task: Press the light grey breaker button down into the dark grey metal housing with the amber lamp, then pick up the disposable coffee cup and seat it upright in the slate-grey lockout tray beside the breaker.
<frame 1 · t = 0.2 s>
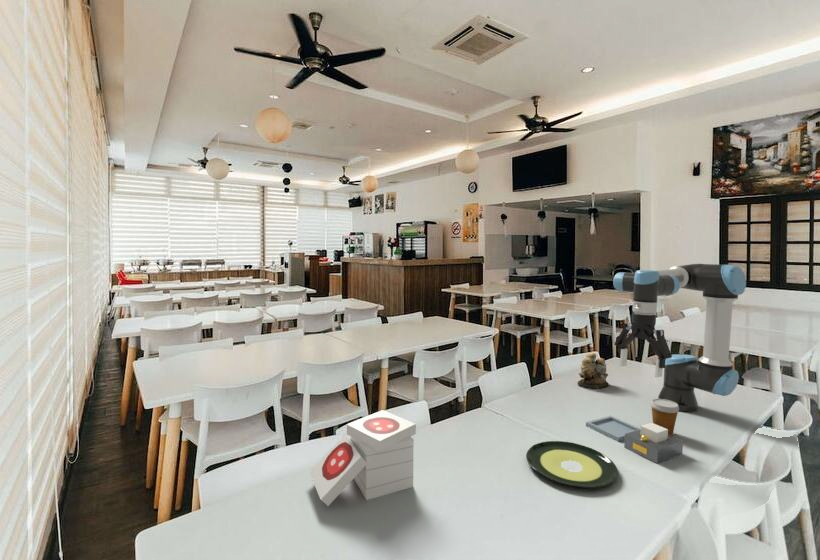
hand: (640, 371, 147), 27 cm above the table, tool pointing down, fingers open, 13 cm apart
lockout tray: (613, 429, 159), on the table
pizza boxes: (364, 485, 122), on the table
breaker button: (653, 435, 143), point 6 cm above the table, slide at 0.0 cm
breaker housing: (652, 450, 143), on the table
plate: (570, 469, 132), on the table
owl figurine: (592, 385, 210), on the table
disposable coffee cup: (662, 433, 157), on the table
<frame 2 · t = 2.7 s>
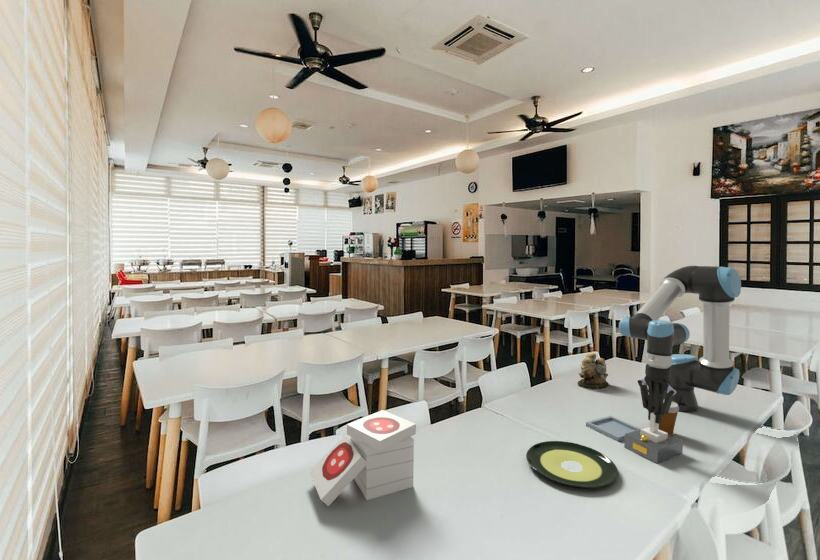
hand: (653, 430, 143), 7 cm above the table, tool pointing down, fingers closed
breaker button: (653, 438, 143), point 4 cm above the table, slide at 1.3 cm, touching gripper
everything else where it was.
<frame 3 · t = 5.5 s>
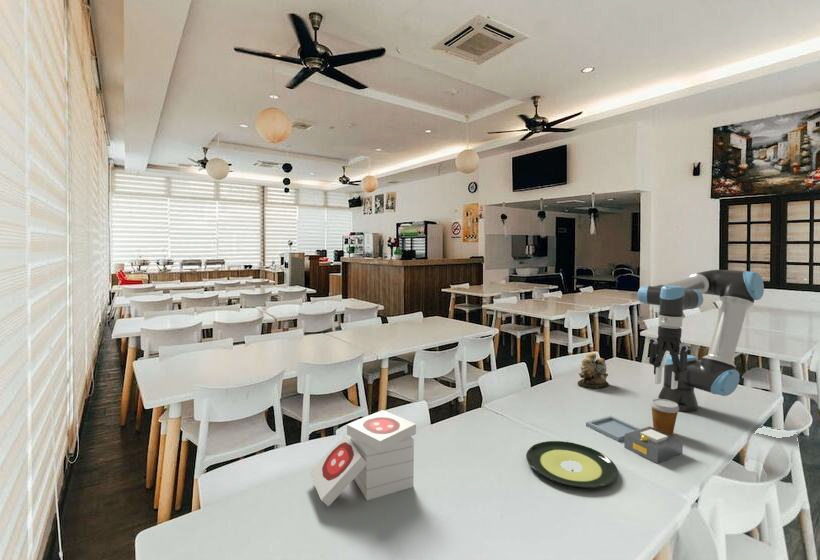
hand: (666, 385, 155), 19 cm above the table, tool pointing down, fingers open, 5 cm apart
breaker button: (653, 441, 143), point 3 cm above the table, slide at 2.4 cm
everything else where it was.
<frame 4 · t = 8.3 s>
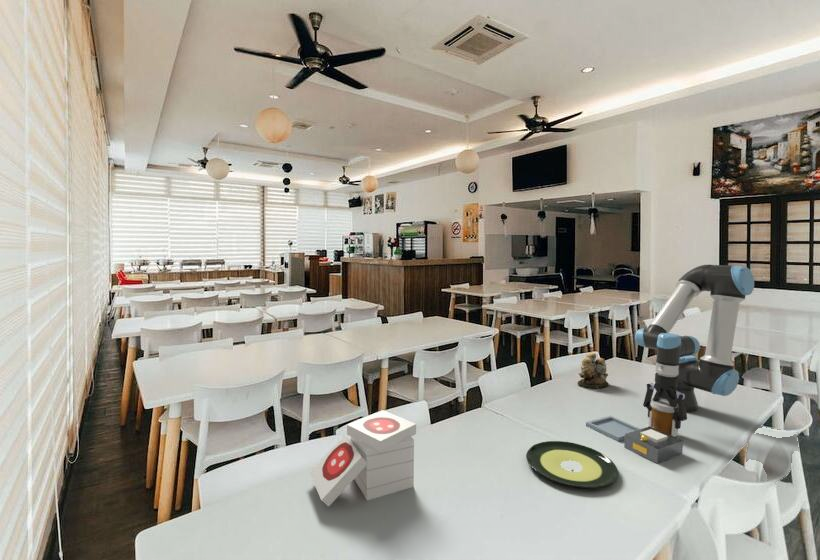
hand: (662, 431, 157), 1 cm above the table, tool pointing down, fingers closed on disposable coffee cup, 8 cm apart
disposable coffee cup: (662, 433, 157), on the table, touching gripper
everything else where it was.
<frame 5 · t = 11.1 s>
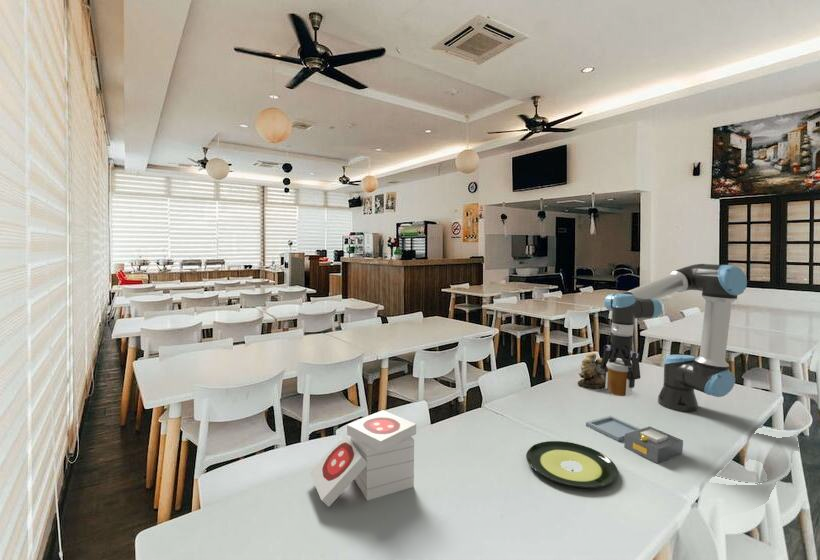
hand: (618, 391, 158), 16 cm above the table, tool pointing down, fingers closed on disposable coffee cup, 8 cm apart
disposable coffee cup: (618, 393, 158), point 15 cm above the table, touching gripper
everything else where it was.
when the fingers open (2 cm above the table, at t = 14.1 s): disposable coffee cup drops 1 cm, resting on lockout tray.
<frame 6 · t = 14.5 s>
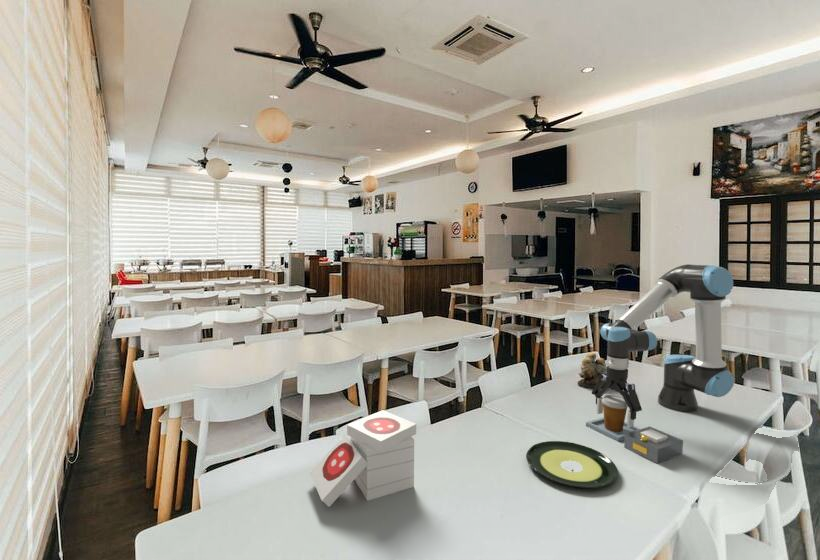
hand: (614, 419, 159), 4 cm above the table, tool pointing down, fingers open, 13 cm apart
disposable coffee cup: (613, 428, 160), resting on lockout tray
everything else where it was.
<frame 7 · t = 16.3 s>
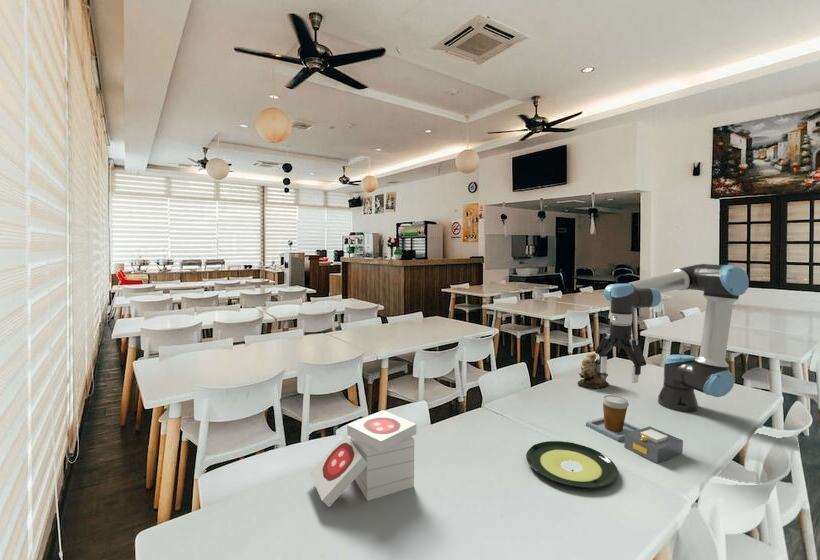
hand: (618, 377, 158), 21 cm above the table, tool pointing down, fingers open, 13 cm apart
nothing on the table moved.
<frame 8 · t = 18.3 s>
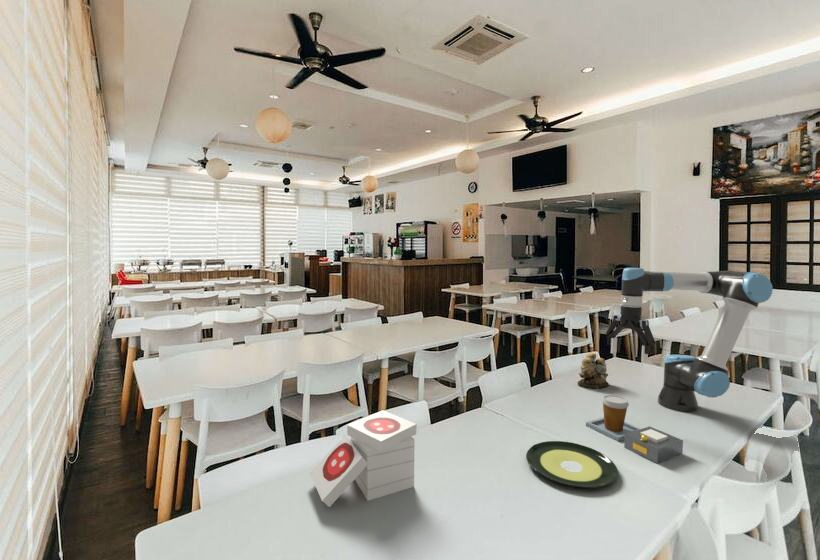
hand: (628, 357, 166), 27 cm above the table, tool pointing down, fingers open, 13 cm apart
nothing on the table moved.
at the end: breaker button slide at 2.4 cm; disposable coffee cup 0.2 cm off-centre on the lockout tray, point 0.2 cm above the lockout tray's base; disposable coffee cup tilted 0° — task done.
